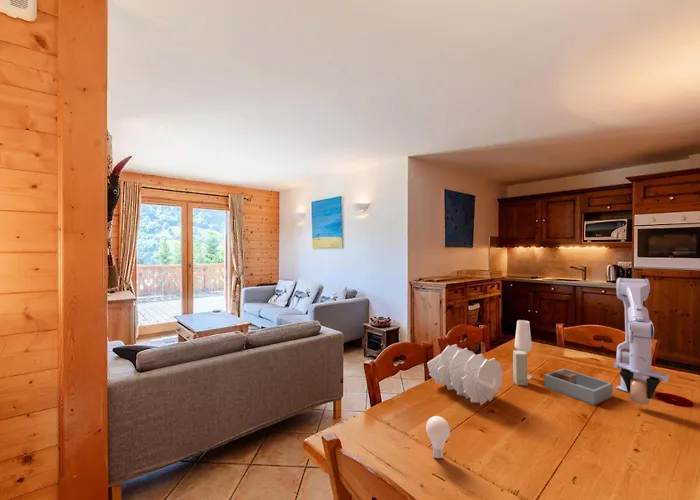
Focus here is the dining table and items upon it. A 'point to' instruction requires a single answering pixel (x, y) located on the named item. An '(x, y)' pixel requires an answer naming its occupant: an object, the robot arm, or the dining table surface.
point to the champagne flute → (523, 338)
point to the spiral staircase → (467, 373)
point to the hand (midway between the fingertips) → (639, 394)
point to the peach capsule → (638, 391)
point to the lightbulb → (437, 434)
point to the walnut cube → (566, 376)
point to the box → (520, 367)
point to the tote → (580, 387)
